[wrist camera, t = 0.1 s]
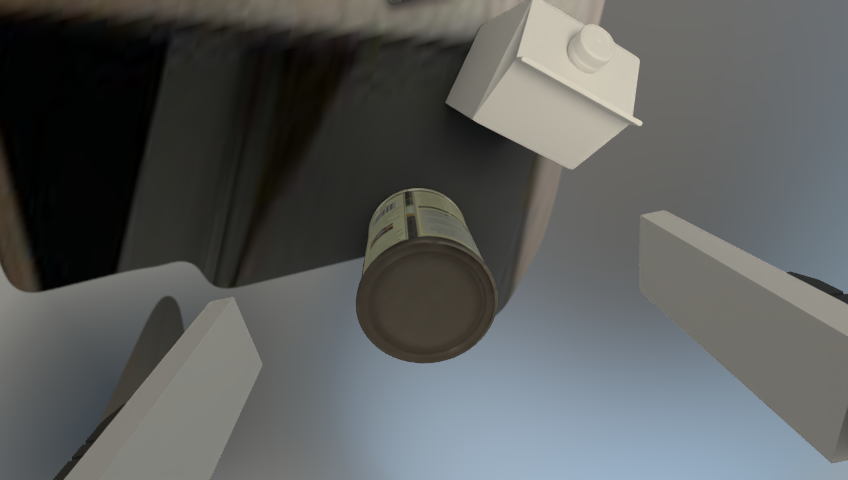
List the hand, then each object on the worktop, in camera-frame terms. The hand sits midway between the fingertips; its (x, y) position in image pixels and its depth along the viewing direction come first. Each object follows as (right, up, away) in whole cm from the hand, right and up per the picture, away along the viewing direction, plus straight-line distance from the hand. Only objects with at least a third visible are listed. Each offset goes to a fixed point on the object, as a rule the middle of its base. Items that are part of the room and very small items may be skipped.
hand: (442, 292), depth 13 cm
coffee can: (-1, +2, +29) cm, 30 cm away
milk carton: (+6, +16, +24) cm, 30 cm away
